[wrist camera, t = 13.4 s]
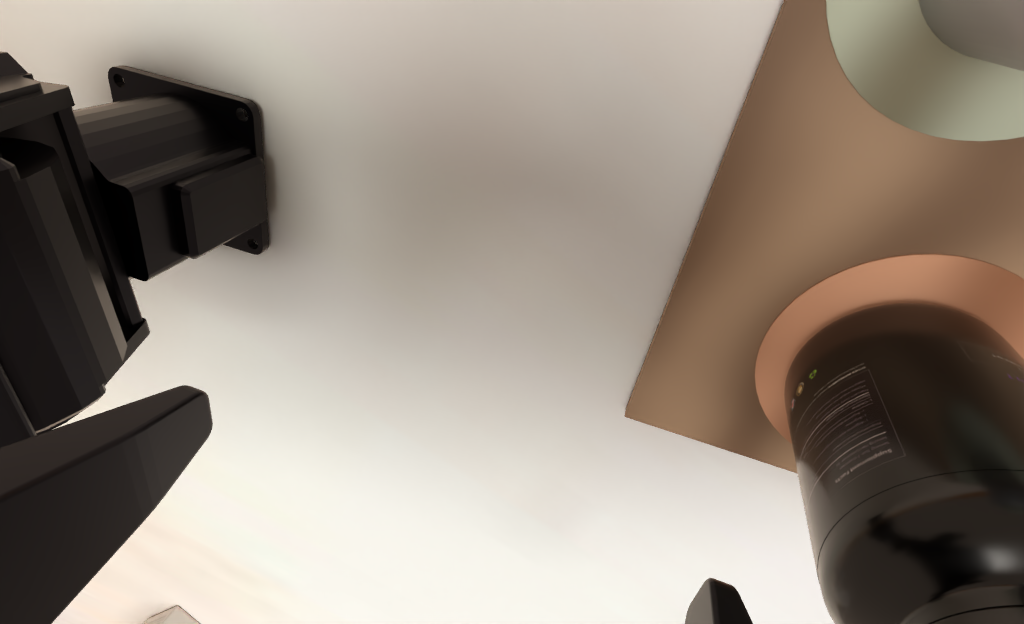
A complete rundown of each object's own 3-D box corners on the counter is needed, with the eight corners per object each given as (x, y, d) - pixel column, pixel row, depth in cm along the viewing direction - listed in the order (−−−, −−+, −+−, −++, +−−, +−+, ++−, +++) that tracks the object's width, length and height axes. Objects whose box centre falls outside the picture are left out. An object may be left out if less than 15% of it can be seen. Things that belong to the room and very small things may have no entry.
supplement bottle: (1067, 332, 17) (1591, 825, 7) (934, 481, 21) (1155, 942, 11) (835, 267, 18) (1009, 620, 8) (748, 420, 22) (791, 793, 12)
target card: (625, 409, 24) (624, 418, 23) (919, -350, 12) (928, -365, 11) (937, 510, 22) (943, 522, 21) (1647, -264, 10) (1696, -277, 10)
